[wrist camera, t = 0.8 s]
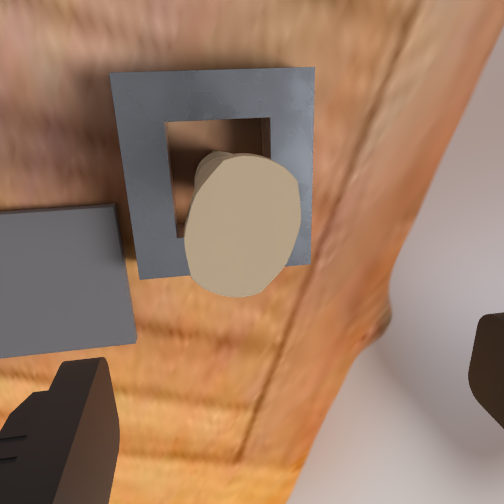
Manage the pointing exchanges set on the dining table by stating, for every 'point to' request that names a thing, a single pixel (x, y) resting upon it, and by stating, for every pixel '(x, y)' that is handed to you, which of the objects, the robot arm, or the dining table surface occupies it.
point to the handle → (240, 223)
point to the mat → (63, 281)
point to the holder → (206, 108)
